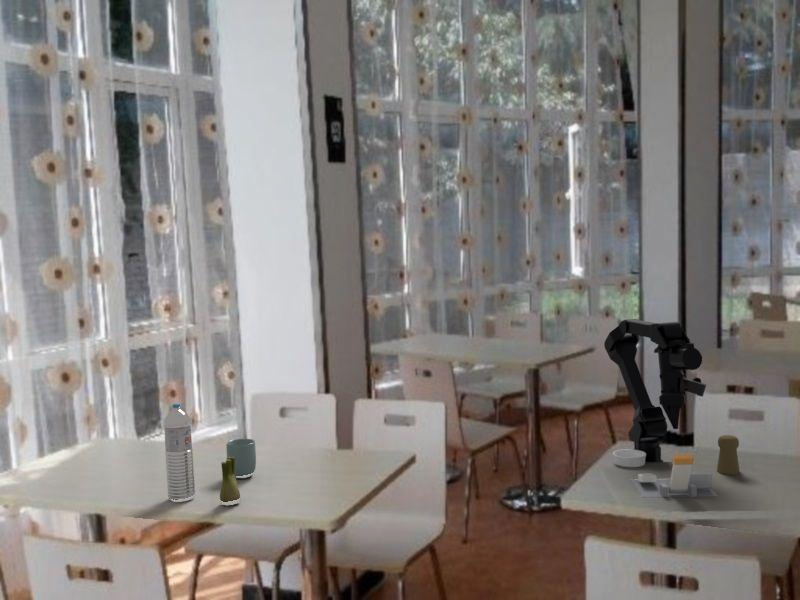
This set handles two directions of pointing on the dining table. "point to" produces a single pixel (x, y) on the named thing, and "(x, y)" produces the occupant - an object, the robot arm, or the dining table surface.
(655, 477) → the rocker
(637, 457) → the ramekin
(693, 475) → the grey rectangular panel
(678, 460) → the lever
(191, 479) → the water bottle
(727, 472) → the cork
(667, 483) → the grey tray
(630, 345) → the robot arm
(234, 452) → the cup
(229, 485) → the fennel bulb
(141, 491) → the dining table surface
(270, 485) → the dining table surface
